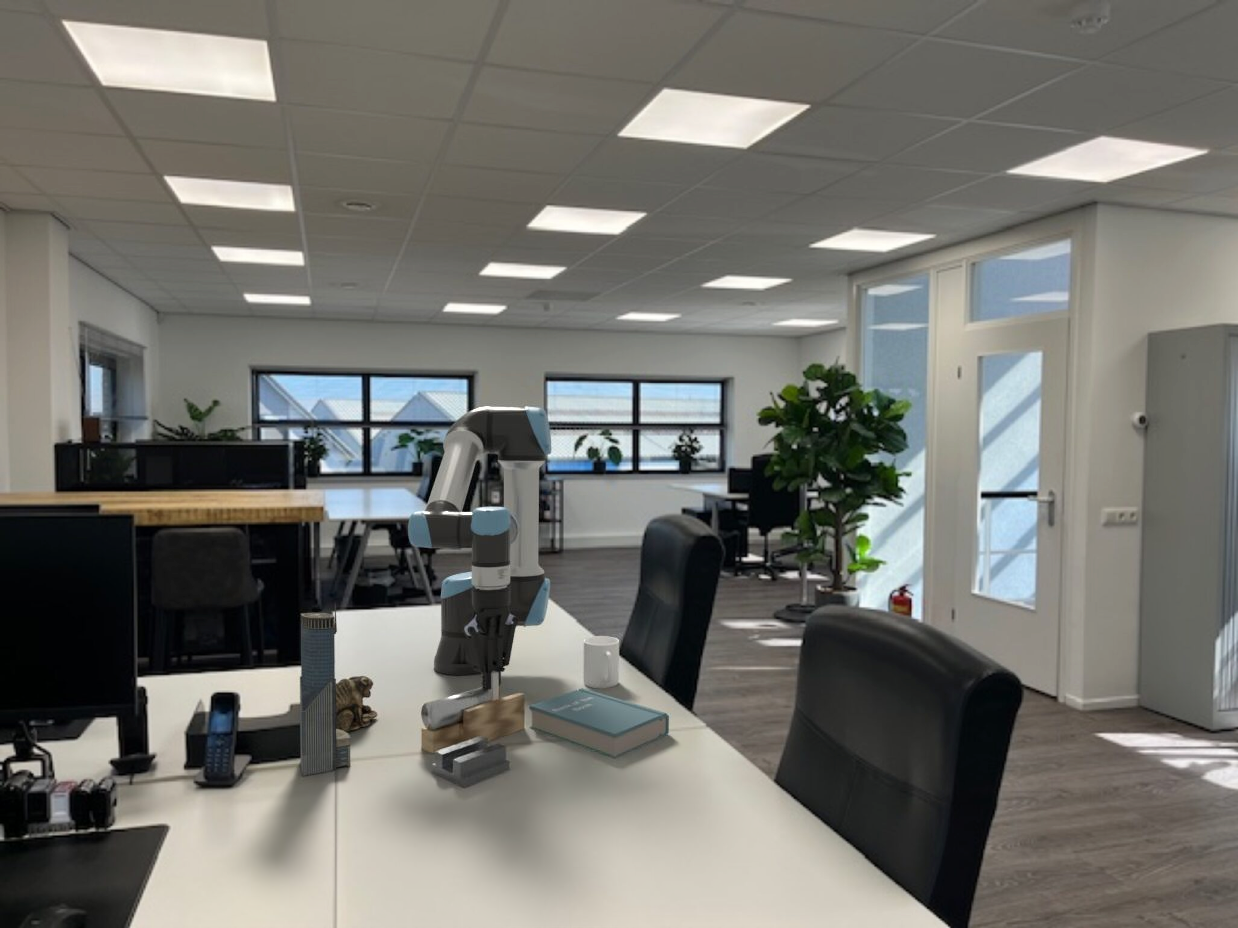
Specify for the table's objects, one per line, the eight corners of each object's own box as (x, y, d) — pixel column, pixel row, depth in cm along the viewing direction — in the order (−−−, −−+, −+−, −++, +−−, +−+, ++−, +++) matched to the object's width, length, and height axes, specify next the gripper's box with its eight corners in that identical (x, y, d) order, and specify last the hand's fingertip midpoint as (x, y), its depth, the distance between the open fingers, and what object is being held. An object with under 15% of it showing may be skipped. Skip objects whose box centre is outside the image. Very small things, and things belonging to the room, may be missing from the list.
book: (529, 730, 169) (529, 705, 168) (584, 709, 181) (585, 686, 181) (614, 760, 154) (615, 733, 154) (668, 736, 166) (669, 711, 166)
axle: (476, 708, 168) (477, 683, 167) (492, 715, 164) (493, 691, 164) (420, 724, 158) (421, 699, 157) (436, 733, 155) (437, 707, 154)
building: (360, 760, 152) (359, 595, 150) (327, 780, 143) (325, 605, 142) (313, 752, 155) (311, 591, 153) (278, 771, 146) (276, 600, 145)
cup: (612, 676, 203) (613, 634, 203) (628, 691, 192) (628, 647, 191) (579, 679, 201) (579, 637, 200) (593, 695, 189) (593, 650, 189)
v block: (463, 787, 141) (463, 764, 141) (431, 772, 147) (431, 749, 147) (509, 769, 148) (509, 747, 148) (477, 755, 154) (477, 734, 154)
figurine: (388, 723, 170) (387, 674, 170) (321, 742, 160) (321, 690, 160) (372, 715, 175) (371, 668, 174) (306, 734, 164) (305, 683, 164)
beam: (495, 717, 174) (495, 684, 174) (524, 728, 168) (524, 694, 168) (413, 744, 159) (413, 708, 159) (441, 757, 153) (441, 719, 153)
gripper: (477, 593, 158) (477, 716, 160) (528, 583, 168) (528, 700, 169) (452, 588, 163) (453, 707, 165) (503, 578, 173) (504, 691, 174)
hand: (491, 703), depth 167 cm, fingers closed
